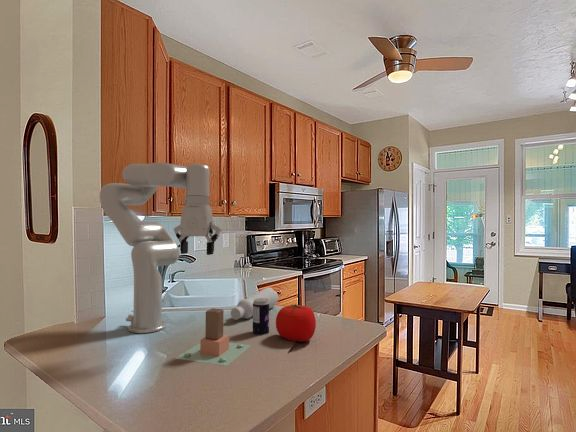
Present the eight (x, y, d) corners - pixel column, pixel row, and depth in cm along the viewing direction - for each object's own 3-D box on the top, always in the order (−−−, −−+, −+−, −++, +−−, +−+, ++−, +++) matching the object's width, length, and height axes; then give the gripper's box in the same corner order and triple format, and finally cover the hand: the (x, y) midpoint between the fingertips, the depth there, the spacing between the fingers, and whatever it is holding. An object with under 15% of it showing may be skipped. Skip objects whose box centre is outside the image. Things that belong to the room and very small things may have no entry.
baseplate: (174, 362, 94) (174, 356, 94) (205, 342, 109) (205, 337, 109) (226, 369, 89) (226, 363, 89) (251, 348, 105) (251, 343, 105)
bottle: (259, 297, 162) (222, 315, 134) (268, 282, 159) (232, 297, 132) (273, 310, 158) (238, 330, 131) (283, 295, 156) (249, 312, 129)
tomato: (321, 336, 116) (321, 302, 117) (306, 349, 104) (306, 311, 104) (287, 331, 122) (287, 298, 122) (269, 343, 109) (269, 306, 110)
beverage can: (266, 338, 114) (266, 302, 115) (250, 336, 115) (250, 301, 116) (270, 332, 120) (271, 298, 120) (255, 331, 121) (255, 297, 121)
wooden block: (223, 336, 101) (224, 308, 101) (217, 340, 97) (217, 312, 97) (211, 334, 102) (211, 307, 102) (204, 339, 98) (205, 311, 98)
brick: (200, 353, 97) (200, 339, 98) (211, 346, 103) (211, 333, 103) (219, 356, 96) (219, 342, 96) (229, 349, 101) (229, 335, 101)
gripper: (168, 201, 112) (167, 254, 111) (215, 201, 106) (214, 255, 106) (181, 203, 119) (181, 252, 118) (226, 202, 114) (226, 253, 113)
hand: (196, 254), depth 112 cm, fingers open, 9 cm apart
